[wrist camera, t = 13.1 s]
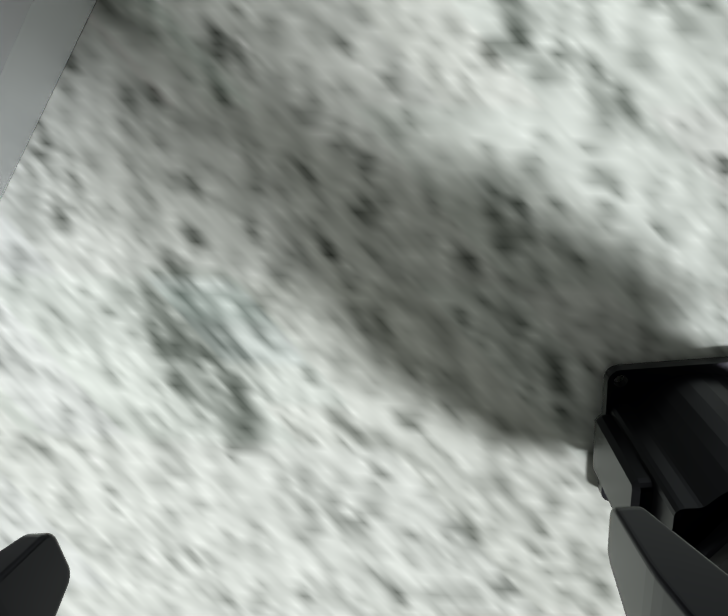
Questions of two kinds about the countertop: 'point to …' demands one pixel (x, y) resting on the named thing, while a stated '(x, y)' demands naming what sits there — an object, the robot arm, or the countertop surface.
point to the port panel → (32, 66)
